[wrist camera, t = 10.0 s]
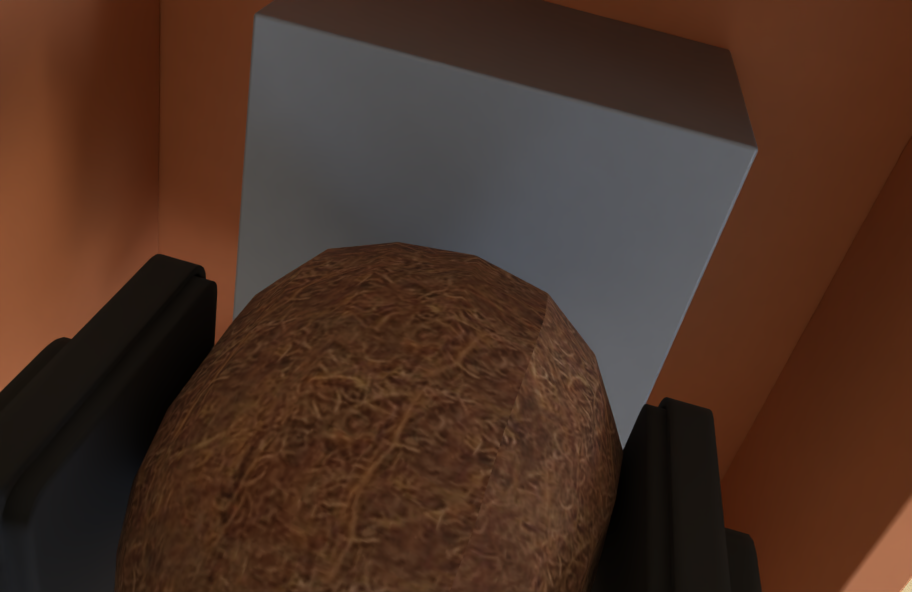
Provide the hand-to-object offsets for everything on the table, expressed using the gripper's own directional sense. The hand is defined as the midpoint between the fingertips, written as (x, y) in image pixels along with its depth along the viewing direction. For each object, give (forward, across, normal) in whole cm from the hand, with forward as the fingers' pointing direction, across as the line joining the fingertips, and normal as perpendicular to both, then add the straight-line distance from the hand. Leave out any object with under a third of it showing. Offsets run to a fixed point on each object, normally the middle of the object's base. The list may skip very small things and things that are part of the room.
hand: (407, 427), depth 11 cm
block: (+8, 0, 0) cm, 8 cm away
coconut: (+3, 0, 0) cm, 3 cm away
